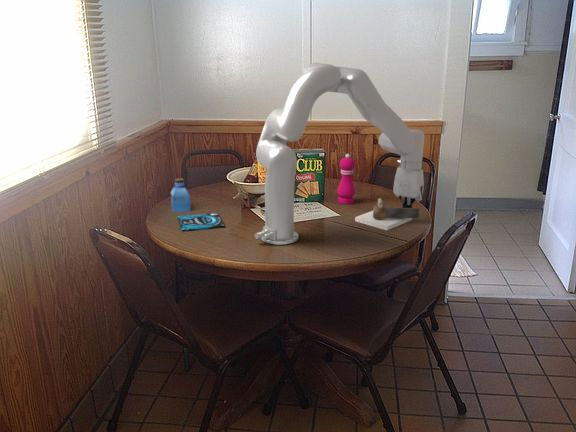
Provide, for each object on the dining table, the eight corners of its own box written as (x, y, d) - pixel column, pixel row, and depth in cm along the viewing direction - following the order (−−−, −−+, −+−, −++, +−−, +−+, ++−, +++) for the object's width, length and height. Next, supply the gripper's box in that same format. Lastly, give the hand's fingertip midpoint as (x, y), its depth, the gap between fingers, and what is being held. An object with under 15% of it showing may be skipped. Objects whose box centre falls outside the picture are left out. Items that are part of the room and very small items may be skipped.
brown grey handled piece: (373, 219, 192) (374, 201, 190) (372, 215, 197) (373, 198, 195) (419, 219, 192) (420, 202, 190) (416, 216, 196) (418, 198, 194)
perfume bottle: (190, 210, 206) (189, 180, 203) (174, 212, 204) (172, 182, 200) (187, 206, 212) (185, 176, 208) (171, 207, 210) (169, 178, 206)
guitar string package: (225, 225, 189) (182, 229, 184) (225, 229, 189) (182, 233, 185) (217, 212, 202) (177, 216, 198) (218, 215, 203) (177, 219, 198)
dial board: (388, 230, 187) (388, 226, 186) (354, 221, 196) (355, 216, 196) (413, 220, 198) (413, 215, 197) (380, 211, 207) (380, 207, 207)
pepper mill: (354, 199, 222) (356, 152, 215) (354, 205, 215) (357, 156, 208) (336, 199, 222) (338, 151, 216) (336, 204, 215) (338, 155, 209)
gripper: (387, 163, 193) (383, 211, 199) (424, 170, 183) (419, 221, 189) (398, 160, 198) (394, 207, 204) (435, 166, 188) (429, 216, 194)
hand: (406, 213), depth 197 cm, fingers closed
